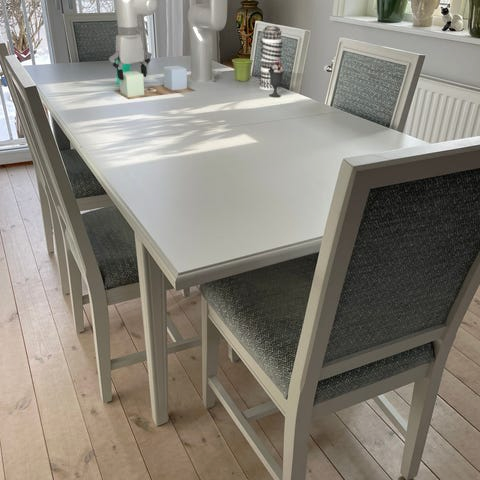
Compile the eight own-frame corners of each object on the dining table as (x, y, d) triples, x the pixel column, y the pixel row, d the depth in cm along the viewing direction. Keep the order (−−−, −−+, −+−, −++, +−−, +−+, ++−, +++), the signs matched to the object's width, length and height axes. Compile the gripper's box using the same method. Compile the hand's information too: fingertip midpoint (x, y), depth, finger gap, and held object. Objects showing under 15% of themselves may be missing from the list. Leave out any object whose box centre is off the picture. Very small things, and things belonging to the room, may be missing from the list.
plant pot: (237, 83, 230) (238, 63, 226) (228, 78, 238) (228, 59, 233) (255, 81, 234) (256, 61, 230) (245, 77, 242) (246, 57, 237)
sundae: (284, 95, 215) (287, 57, 207) (280, 98, 209) (283, 60, 202) (269, 93, 216) (271, 56, 209) (264, 96, 211) (267, 58, 203)
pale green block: (136, 91, 208) (135, 70, 204) (144, 95, 203) (143, 74, 199) (120, 93, 204) (118, 72, 200) (127, 97, 199) (126, 75, 195)
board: (178, 85, 223) (178, 81, 222) (196, 93, 212) (196, 89, 211) (113, 93, 208) (113, 89, 207) (128, 101, 197) (128, 97, 196)
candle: (130, 87, 216) (128, 58, 210) (116, 87, 216) (113, 57, 210) (133, 84, 222) (131, 55, 216) (119, 83, 221) (116, 54, 215)
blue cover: (178, 84, 219) (178, 65, 215) (186, 88, 215) (186, 68, 211) (164, 86, 216) (163, 66, 212) (172, 90, 211) (171, 70, 207)
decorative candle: (276, 91, 219) (280, 29, 207) (255, 89, 222) (258, 27, 209) (281, 87, 227) (286, 26, 214) (262, 84, 229) (265, 24, 217)
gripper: (145, 28, 199) (148, 73, 208) (102, 31, 190) (108, 78, 199) (153, 31, 194) (156, 77, 203) (110, 35, 185) (115, 82, 194)
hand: (132, 77), depth 201 cm, fingers open, 9 cm apart
